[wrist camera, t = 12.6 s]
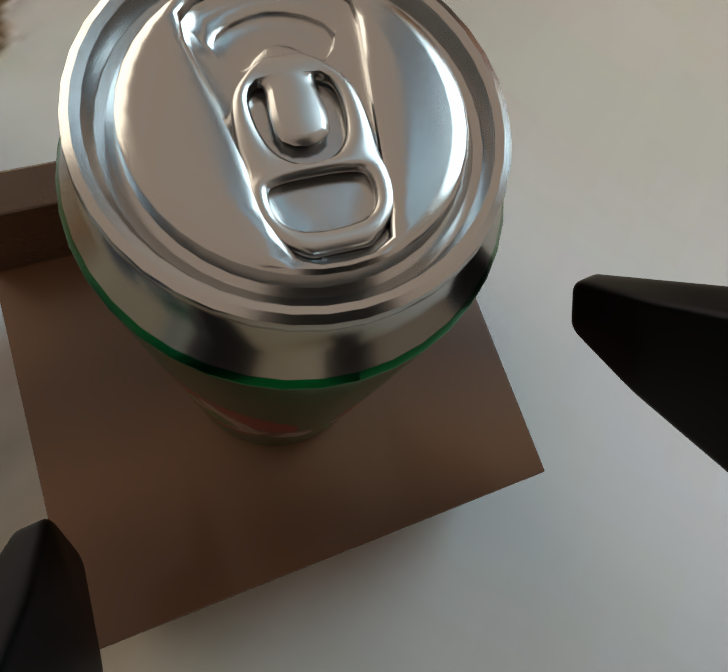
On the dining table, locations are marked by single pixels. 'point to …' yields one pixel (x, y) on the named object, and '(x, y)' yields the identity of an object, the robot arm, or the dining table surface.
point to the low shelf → (223, 443)
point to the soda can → (281, 193)
